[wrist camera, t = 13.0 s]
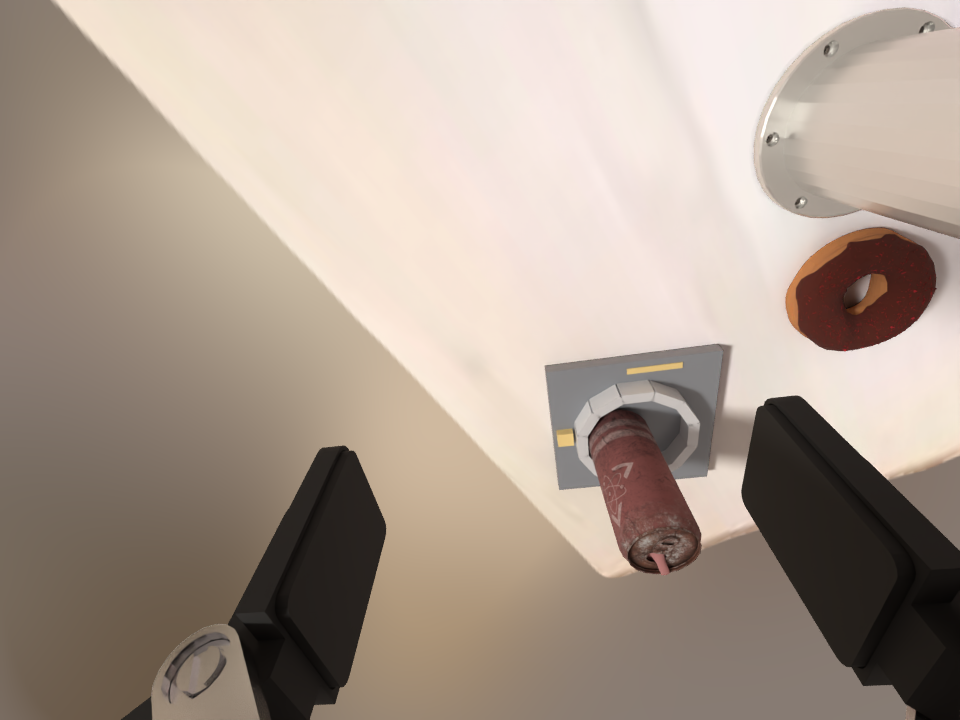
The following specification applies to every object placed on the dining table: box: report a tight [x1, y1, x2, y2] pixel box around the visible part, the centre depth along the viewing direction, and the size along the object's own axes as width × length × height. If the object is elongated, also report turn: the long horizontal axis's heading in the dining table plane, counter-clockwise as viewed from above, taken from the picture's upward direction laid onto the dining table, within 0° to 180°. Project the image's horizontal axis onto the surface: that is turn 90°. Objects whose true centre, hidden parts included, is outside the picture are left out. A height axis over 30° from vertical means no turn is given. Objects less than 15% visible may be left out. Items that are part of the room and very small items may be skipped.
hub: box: [545, 344, 723, 490], centre depth 44 cm, size 16×16×3 cm
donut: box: [786, 228, 937, 351], centre depth 35 cm, size 10×10×4 cm
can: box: [588, 409, 702, 575], centre depth 38 cm, size 6×6×14 cm
